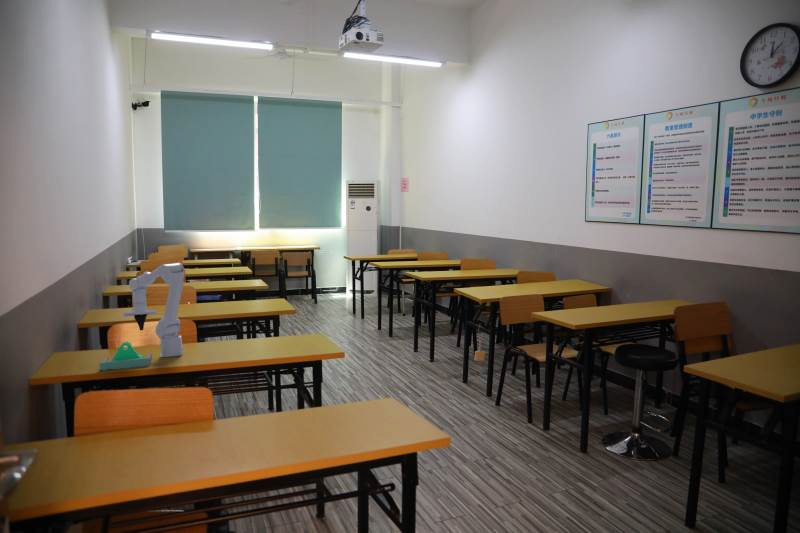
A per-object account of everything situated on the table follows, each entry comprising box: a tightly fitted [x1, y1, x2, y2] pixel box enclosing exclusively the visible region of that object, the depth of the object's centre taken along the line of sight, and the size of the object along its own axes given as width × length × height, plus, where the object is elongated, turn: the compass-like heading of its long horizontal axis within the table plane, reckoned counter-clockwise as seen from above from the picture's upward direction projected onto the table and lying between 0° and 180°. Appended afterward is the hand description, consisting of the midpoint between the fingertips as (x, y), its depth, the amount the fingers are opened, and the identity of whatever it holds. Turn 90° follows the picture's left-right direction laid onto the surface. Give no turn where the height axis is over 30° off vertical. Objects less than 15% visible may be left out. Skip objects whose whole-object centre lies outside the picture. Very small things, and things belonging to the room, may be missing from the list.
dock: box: [99, 352, 153, 371], centre depth 240 cm, size 19×13×4 cm
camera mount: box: [111, 341, 144, 361], centre depth 241 cm, size 12×8×10 cm, turn 109°
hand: (141, 329), depth 262 cm, fingers closed
